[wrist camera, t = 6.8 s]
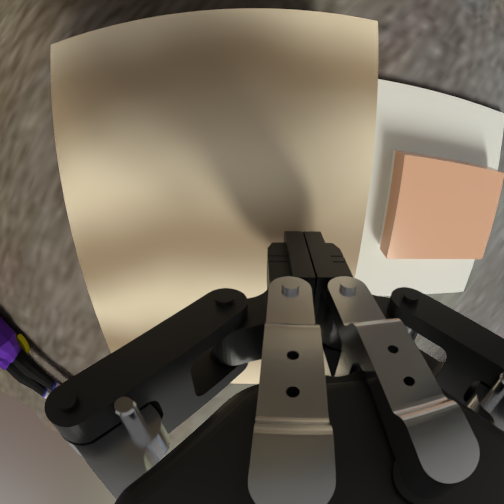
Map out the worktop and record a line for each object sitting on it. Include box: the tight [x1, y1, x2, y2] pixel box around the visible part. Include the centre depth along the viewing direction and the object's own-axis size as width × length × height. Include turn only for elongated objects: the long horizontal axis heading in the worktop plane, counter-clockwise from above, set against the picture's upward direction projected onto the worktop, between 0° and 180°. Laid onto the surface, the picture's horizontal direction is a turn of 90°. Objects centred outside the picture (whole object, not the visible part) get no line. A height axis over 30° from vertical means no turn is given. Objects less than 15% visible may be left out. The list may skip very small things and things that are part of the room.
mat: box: [355, 79, 504, 296], centre depth 20 cm, size 16×12×1 cm
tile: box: [379, 150, 504, 259], centre depth 18 cm, size 7×9×2 cm
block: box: [51, 8, 378, 384], centre depth 17 cm, size 20×14×7 cm
